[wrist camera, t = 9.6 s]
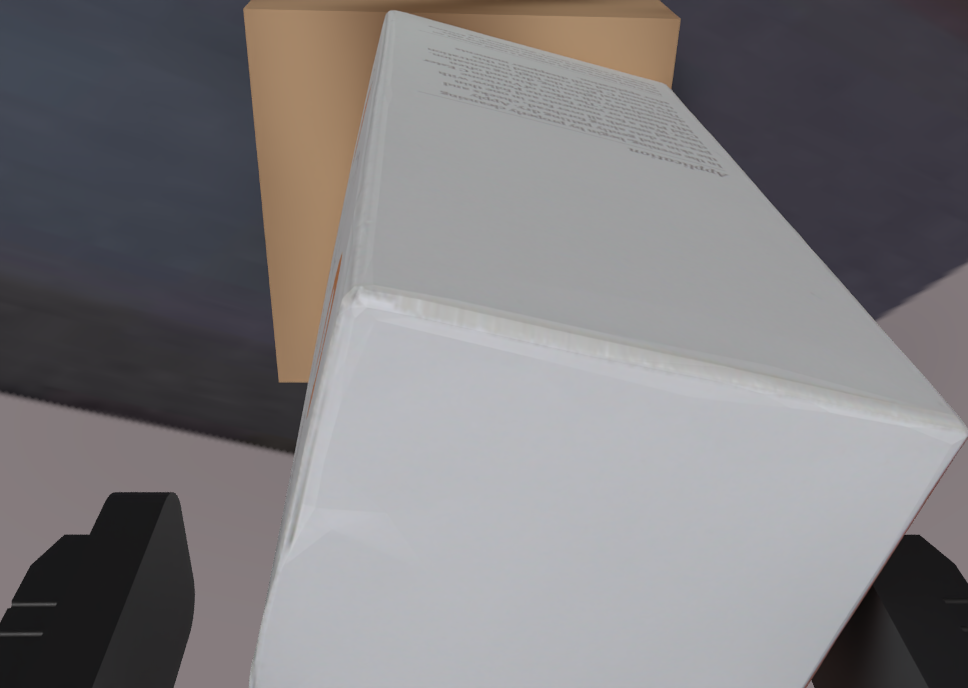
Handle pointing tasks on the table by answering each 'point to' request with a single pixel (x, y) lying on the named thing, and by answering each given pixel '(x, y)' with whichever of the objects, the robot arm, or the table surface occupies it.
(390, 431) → the small box
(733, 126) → the table surface
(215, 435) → the table surface
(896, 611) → the robot arm
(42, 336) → the table surface
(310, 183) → the base brick
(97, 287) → the table surface
